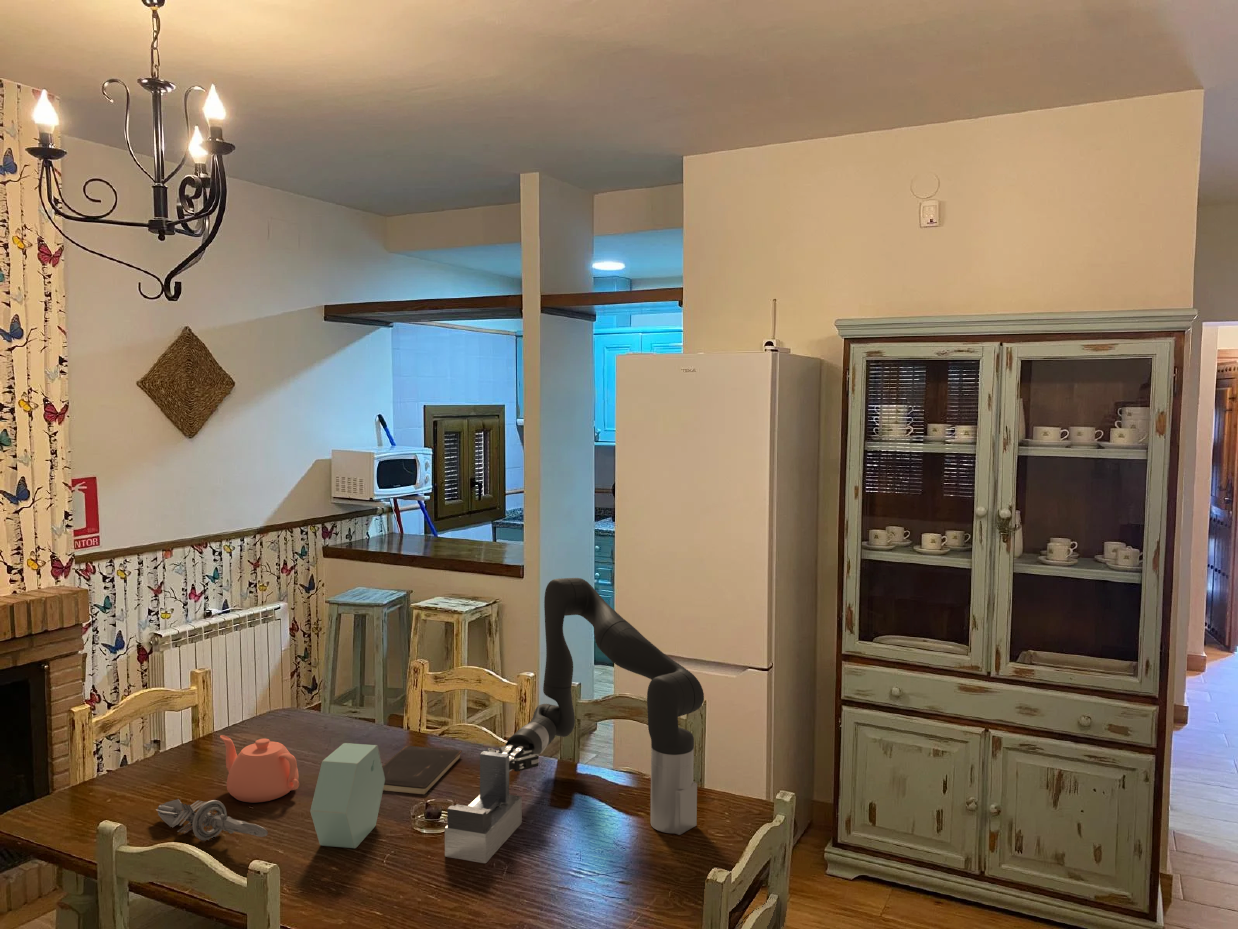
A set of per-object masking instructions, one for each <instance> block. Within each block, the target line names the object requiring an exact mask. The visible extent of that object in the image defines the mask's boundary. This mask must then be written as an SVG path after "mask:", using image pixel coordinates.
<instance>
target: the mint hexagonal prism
mask: <svg viewBox="0 0 1238 929" xmlns="http://www.w3.org/2000/svg"><path fill="white" fill-rule="evenodd" d="M382 766H383V764H382V759H381V754H380V750H379V746H378V744H365V743H364V744H363V743H349V742H343V743H342V744H340V745H339V747H337V748H336V749H335V750H334V751H332V752H330V754H329V755H328V756H326V757H325V758H324V759H323V760H322V761H321V765H320V769H319V773H318V777H317V781H316V785H315V789H314V793H313V799H312V802H311V806H310V810H309V812H310V815H311V819H312V822H313V825H314V830H315V833H316V837H317V839H318V844H319V845H320V846H324V847H336V848H346V849H347V848H348V849H357V847H358V846H359V845H360V844H361V843H362V842H363V841H364V840H365V839H366V837H367V836H369V834H370V833H371V832H372V831H373V829H374V828H375V827H376V825H377V821H378V816H379V811H380V807H381V802H382V796H383V791H384V790H383V788H384V783H385V776H384V772H383V767H382Z"/></svg>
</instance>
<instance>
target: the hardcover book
mask: <svg viewBox="0 0 1238 929" xmlns="http://www.w3.org/2000/svg"><path fill="white" fill-rule="evenodd" d="M462 753H463V750H461V749H460V750H459V749H448V748H436V747H425V746H413V745H405V746H404V747H402V748H401V749H400V750H399V751H398V752H397V753H395V754H394V755H393V756H392V757H391V758H389V759H388V761H386V762H385V763H384V764H382V767H383V772H384V776H385V783H384V788H383V791H387V792H399V793H407V794H408V793H409V794H418V795H425V794H427V792H428V791H429V790H430V789H431V788H432V787H433V786H434V785H435V784H436V783H437V782H439V780H440V779H441V778H442V776H444V775H445V774H446V773H447V772H448V771H449V770H450V768H452V766H453V765H455V763H456V762H457V761H458V760H459V759H460V758H461V754H462Z"/></svg>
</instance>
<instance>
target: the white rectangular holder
mask: <svg viewBox="0 0 1238 929" xmlns="http://www.w3.org/2000/svg"><path fill="white" fill-rule="evenodd" d="M479 800H480V794H478V796H476V798H475V799H474V800H473V801H471V802H470V803H469V804H468V805H463V804H455V805H449V806H448V807H447V811H446V813H447V814H446V815H447V820H446V821H447V823H446V824H447V825H446V826H445V827H444V857H447V858H451V859H456V860H457V859H458V860H463V861H469V862H476V863H480V864H486V863H488V862H489V860H490V859H492V857H493V856H494V855H495V854H496V853H497V852H498V850H499V849H500V848H501V847H502V846H503V844H504V843H506V841H507V840H508V839H509V838H510V837H511V836H512V835H513V834H514V832H515V831H516V830H517V829H518V828H519V827H520V826H521V825H522V822H523V821H522V816H523V815H522V810H523V809H522V808H523V807H522V806H523V805H522V804H523V803H522V800H523V799H522V796H521V795H516V794H509V801H508V802H507V803H499V804H498V805H497V806H496V807H495V808H494V809H493V810H492V811H491V809H484V808H478V807H473V806H474V805H475V804H476V803H477V802H478V801H479Z"/></svg>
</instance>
